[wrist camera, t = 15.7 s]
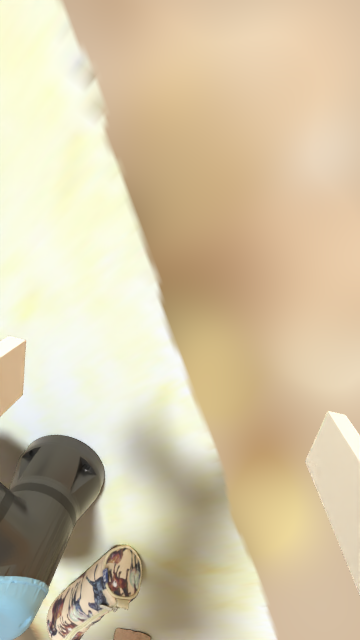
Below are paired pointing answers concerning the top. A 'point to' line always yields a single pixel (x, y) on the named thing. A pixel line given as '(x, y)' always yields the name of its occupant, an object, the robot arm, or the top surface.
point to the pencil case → (96, 594)
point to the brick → (129, 635)
